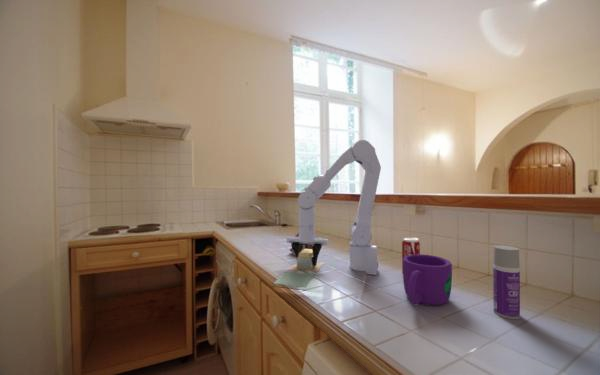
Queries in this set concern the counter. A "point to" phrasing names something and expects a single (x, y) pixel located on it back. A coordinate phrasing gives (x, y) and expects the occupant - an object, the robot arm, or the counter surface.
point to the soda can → (410, 247)
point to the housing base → (305, 263)
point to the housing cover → (306, 253)
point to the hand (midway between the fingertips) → (307, 264)
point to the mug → (427, 279)
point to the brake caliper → (304, 246)
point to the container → (506, 282)
